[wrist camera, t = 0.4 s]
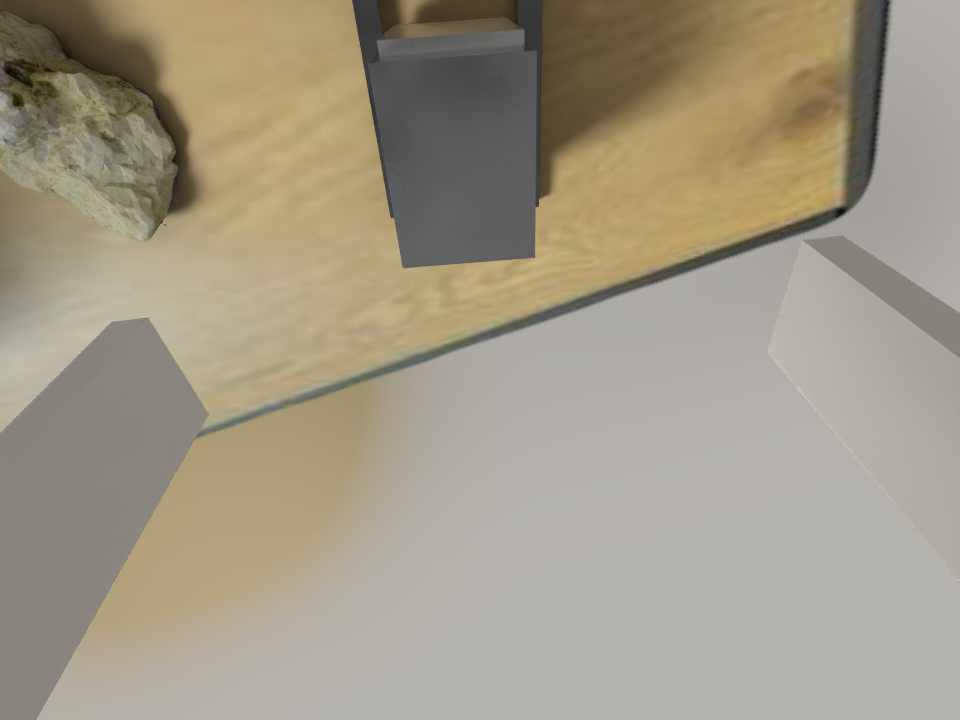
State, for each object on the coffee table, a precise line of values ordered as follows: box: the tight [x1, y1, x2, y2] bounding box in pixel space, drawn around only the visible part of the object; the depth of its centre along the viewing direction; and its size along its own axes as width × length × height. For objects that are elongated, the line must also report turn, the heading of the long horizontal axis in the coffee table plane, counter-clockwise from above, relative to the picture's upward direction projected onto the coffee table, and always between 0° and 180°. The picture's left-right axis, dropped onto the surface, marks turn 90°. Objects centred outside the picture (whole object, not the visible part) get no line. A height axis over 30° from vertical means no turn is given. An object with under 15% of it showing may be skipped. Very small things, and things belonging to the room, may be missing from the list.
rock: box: [0, 11, 178, 241], centre depth 26 cm, size 11×6×10 cm
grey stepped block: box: [368, 17, 537, 268], centre depth 24 cm, size 6×8×11 cm
